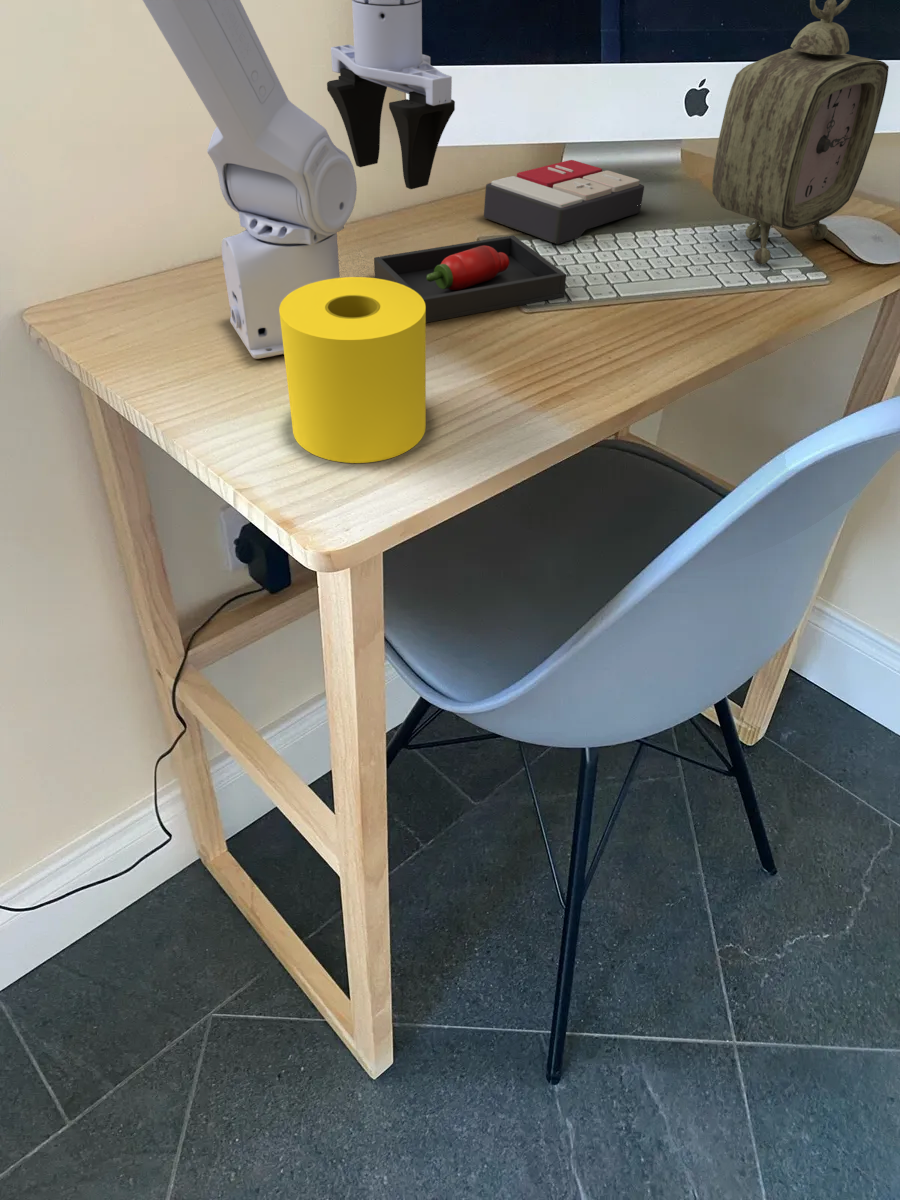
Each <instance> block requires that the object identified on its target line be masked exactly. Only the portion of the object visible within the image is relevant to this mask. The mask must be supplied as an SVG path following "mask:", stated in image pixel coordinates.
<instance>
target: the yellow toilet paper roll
mask: <svg viewBox="0 0 900 1200" xmlns="http://www.w3.org/2000/svg"><path fill="white" fill-rule="evenodd" d="M279 313H280V322H281V331H282V339H283V348H284V354H283V355H284V364H285V375H286V382H287V383H286V384H287V391H288V400H289V409H290V417H291V419H290V420H291V427H292V435H293V437H294V439H295V441H296V442H297V444H298V445H299V446H300V447H301V448H303V449H304V450H305V451H306V452H308V453H310V454H312V455H313V456H316V457H319V458H321V459H325V460H328V461H332V462H339V463H345V464H346V463H347V464H365V463H367V464H368V463H375V462H380V461H385V460H389V459H392V458H395V457H398V456H400V455H403V454H405V453H406V452H408V451H410V450H412V449H413V448H414V447H416V446H417V445H418V444H419V443H420V442H421V440H422V438H423V437H424V436H425V433H426V428H427V425H426V424H427V422H426V419H427V417H426V416H427V415H426V414H427V413H426V412H427V410H426V409H427V408H426V405H427V404H426V401H427V399H426V398H427V397H426V396H427V394H426V393H427V392H426V390H427V389H426V387H427V385H426V384H427V383H426V382H427V381H426V378H427V377H426V376H427V375H426V372H427V370H426V369H427V368H426V366H427V365H426V361H427V359H426V357H427V355H426V353H427V351H426V349H427V346H426V345H427V339H426V338H427V335H426V332H427V331H426V329H427V326H426V306H425V302H424V300H423V298H422V297H421V296H420V295H419V294H418V293H417V292H415V291H414V290H412V289H411V288H409V287H407V286H404V285H402V284H399V283H396V282H392V281H388V280H383V279H377V278H375V277H368V276H367V277H366V276H365V277H364V276H345V277H340V278H333V279H327V280H322V281H318V282H314V283H310V284H308V285H305V286H302V287H300V288H298V289H296V290H294V291H293V292H291V293H290V294H288V295H287V296H286V297H285V298H284V299H283V300H282V302H281V304H280V307H279Z"/></svg>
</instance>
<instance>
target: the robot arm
mask: <svg viewBox="0 0 900 1200" xmlns="http://www.w3.org/2000/svg"><path fill="white" fill-rule="evenodd" d="M142 2H143V4H144V5H145V7H146V9H147V10H148V12H149V14H150V16H151V17H152V19H153V21H154V22H155V24H156V26H157V27H158V29H159V31H160V32H161V34H162V36H163V37H164V39H165V41H166V42H167V44H168V46H169V47H170V49H171V51H172V53H173V54H174V56H175V58H176V60H177V61H178V63H179V65H180V67H181V68H182V70H183V72H184V73H185V74H186V77H187V79H188V80H189V81H190V84H191V85H192V86H193V88H194V90H195V92H196V94H197V95H198V97H199V98H200V100H201V102H202V104H203V105H204V107H205V108H206V111H207V112H208V113H209V116H210V118H211V119H212V120H213V122H214V124H215V125H216V127H215V128H214V130H213V132H212V134H211V138H210V140H209V143H208V147H207V150H206V152H207V154H208V156H209V158H210V159H211V162H212V163H213V164H214V167H215V170H216V173H217V177H218V183H219V187H220V191H221V194H222V197H223V199H224V201H225V202H226V204H227V205H228V206H229V207H230V209H232V211H234V212H236V213H238V217H239V225H240V227H242V228H244V229H245V230H243V231H241V232H239V233H237V234H234V235H229V236H226V237H224V238H222V240H221V259H222V266H223V273H224V279H225V285H226V286H225V287H226V292H227V297H228V298H227V299H228V304H229V311H230V312H229V313H230V318H229V321H230V324H231V325H232V327H233V329H234V331H235V332H236V333H237V336H239V338H240V339H241V341H242V344H243V345H244V346H245V347H246V349H247V351H248V352H249V354H250V355H251V357H252V358H253V359H257V360H259V359H264V358H270V357H274V356H280V355H284V348H283V339H282V331H281V322H280V313H279V307H280V304H281V302H282V300H283V299H284V298H285V297H286V296H287V295H288V294H290V293H291V292H293V291H294V290H296V289H298V288H300V287H302V286H305V285H308V284H310V283H314V282H318V281H322V280H327V279H333V278H341V277H340V276H341V275H340V261H339V259H340V258H339V248H338V247H339V246H338V232H341V231H343V229H345V225H346V224H347V222H348V220H349V218H350V217H351V215H352V212H353V211H354V208H355V204H356V199H357V191H358V190H357V188H358V187H357V178H356V177H357V176H356V173H355V169H354V165H353V162H352V161H351V159H350V157H349V155H348V154H347V153H346V152H345V151H344V150H343V149H340V148H338V147H337V146H336V145H335V143H334V142H333V141H332V139H331V136H330V135H329V132H328V130H327V128H325V127H324V126H323V125H322V124H321V123H320V122H318V121H317V120H315V119H314V118H313V117H312V116H310V115H309V114H308V113H306V112H305V111H304V110H302V109H300V107H298V106H297V105H296V104H294V103H293V102H292V101H291V100H290V99H289V98H288V95H287V94H286V92H285V90H284V87H283V86H282V83H281V81H280V79H279V77H278V75H277V73H276V71H275V68H274V67H273V65H272V63H271V60H270V59H269V57H268V55H267V52H266V50H265V49H264V46H263V44H262V42H261V39H260V38H259V36H258V34H257V32H256V30H255V27H254V26H253V24H252V22H251V20H250V18H249V16H248V14H247V11H246V10H245V8H244V6H243V3H242V1H241V0H142ZM351 7H352V8H351V11H352V30H353V45H352V44H342V45H335V46H331V47H330V55H331V71H332V72H334V73H337V74H339V75H338V76H337V77H338V78H337V79H333V80H329V81H327V82H326V90H327V92H328V94H329V95H330V96H331V98H332V100H333V102H334V104H335V105H336V108H337V110H338V112H339V115H340V117H341V119H342V122H343V125H344V129H345V131H346V135H347V137H348V141H349V145H350V148H351V152H352V156H353V159H354V163H355V166H356V167H359V168H363V167H368V166H372V165H376V164H378V162H379V156H380V149H381V148H380V147H381V146H380V145H381V122H382V112H383V106H384V101H385V97H386V92H387V89H388V88H389V89H393V90H395V91H398V92H401V93H403V94H408V99H407V98H406V99H399V100H396V101H395V100H394V101H390V102H389V103H388V108H389V111H390V113H391V116H392V119H393V121H394V124H395V128H396V132H397V135H398V139H399V145H400V153H401V164H402V175H403V181H404V185H405V188H406V189H409V190H413V189H414V190H415V189H418V188H421V187H426V186H428V185H429V181H430V178H431V173H432V168H433V165H434V161H435V156H436V153H437V150H438V146H439V143H440V141H441V138H442V135H443V133H444V131H445V128H446V126H447V125H448V123H449V120H450V119H451V117H452V116H453V113H454V112H455V110H456V101H455V100H454V99H452V90H453V89H452V86H453V85H452V81H453V80H452V79H453V76H452V75H449V74H446V73H444V72H442V71H440V70H439V69H437V68H436V67H434V66H433V65H431V56H429V55H427V54H423V17H422V16H423V1H422V0H351Z"/></svg>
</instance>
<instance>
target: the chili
mask: <svg viewBox="0 0 900 1200" xmlns="http://www.w3.org/2000/svg"><path fill="white" fill-rule="evenodd" d="M508 266H509V258H508V256H507V255H506V254H505V253H502V252H499V253H498V252H497V251H496V250H495V249H494V248H492V247H490V246H479V247H476V248H472V249H469V250H466V251H463V252H459V253H456V254H453V255H450V256H448V257H446V258H445V259H444V260H443V261H442V263H441V264H440V265H437V266H436V267H435V269H434V272H433V273H430V274H428V275H427V277H426V279H427V281H429V282H432V281H435V282H436V284H437V285H438V287H439V288H441V289H447V288H448V289H450V290H461V289H464V288H467V287H470V286H473V285H476V284H479V283H482V282H485V281H488V280H491V279H493V278H494V277H495V276H496V275H497V274H498V273H500V272H503V271H505V270H506V269H507V268H508Z"/></svg>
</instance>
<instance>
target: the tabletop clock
mask: <svg viewBox="0 0 900 1200" xmlns="http://www.w3.org/2000/svg"><path fill="white" fill-rule="evenodd" d="M851 1H852V0H843V1H842V2H841V3H840V4H839V5H837V4H838V2H837V0H826V1H825V2H824V5H823V9H820V8H819V7H818V6H817V5H816V0H809V8H810V11H811V14H812V16H814V17H816V18H817V19H819V20H818V21H813V22H809V23H808V24H806V26H804V27H803V28H802V29H800V31H799V32H798V33H797V35H796V36H795V37H794V39H793V41H792V43H791V45H790V48H788V49H785V50H782V51H780V52H777V53H774V54H771V55H769V56H766V57H764V58H761V59H759V60H756V61H754V62H752V63H749V64H747V65H746V66H744V67H742V69H741V70H739V71H738V72H737V73H736V74H735V77H734V80H733V82H732V84H731V86H730V87H731V88H730V91H729V94H728V97H727V101H726V105H725V110H724V114H723V119H722V123H721V127H720V132H719V136H718V141H717V148H716V152H715V159H714V165H713V171H712V172H713V173H712V181H711V186H712V187H711V188H712V194H713V196H714V199H715V200H716V201H717V204H718V205H719V206H720V207H721V208H722V209H725V210H727V211H730V212H733V213H737V214H739V215H741V216H745V217H747V218H751V219H753V220H755V222H754V223H751V224H750V225H748V226H747V228H746V229H745V236H746V238H747V239H748V240H750V241H755V240H757V239H758V238H760V248H758V249H756V250H755V252H754V254H753V260H754V262H755V263H756V264H758V265H765V264H767V263H768V262H769V261H770V259H771V251H770V250H769V248H767V245H768V241H769V236H770V231H771V228H772V226H775V227H778V228H781V229H784V230H788V231H793V230H797V229H798V230H799V229H802V228H805V227H808V226H812V225H814V227H813V228H812V230H811V236H812V237H813V239H815V240H817V241H821V240H824V239H825V238H827V236H828V234H829V227H828V226H827V225H826V224H824V223H821V222H820V221H822V220H824V219H826V218H828V217H830V216H832V215H834V214H835V213H837V212H838V211H840V210H841V209H842V208H844V206H845V205H846V204H847V203H848V202H849V201H850V199H851V197H852V195H853V193H854V191H855V189H856V187H857V183H858V181H859V179H860V177H861V173H862V171H863V169H864V166H865V163H866V159H867V156H868V153H869V151H870V148H871V144H872V142H873V139H874V136H875V132H876V128H877V125H878V121H879V117H880V113H881V110H882V106H883V102H884V98H885V93H886V89H887V84H888V77H889V70H890V69H889V68H890V67H889V65H888V64H887V63H886V62H885V61H882V60H880V59H879V60H878V59H874V58H868V57H863V56H858V55H854V54H849V53H848V52H849V51H850V40H849V36H848V32H847V31H846V29H845V27H843V26H842V25H840V24H839V23H837V22H834V17H836V16H838V15H840V14H841V13H842V12H843V11H844V10H845V9H847V7H848V6H849V4H850V3H851Z"/></svg>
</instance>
